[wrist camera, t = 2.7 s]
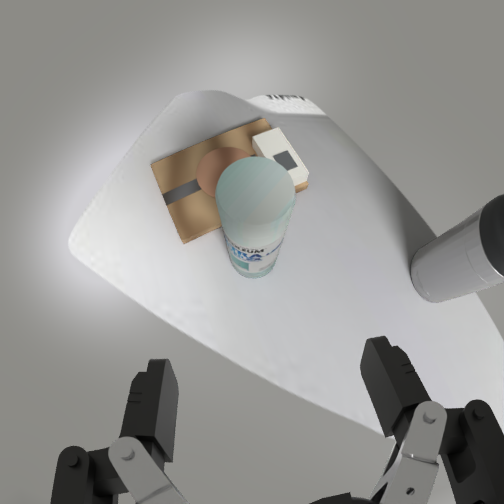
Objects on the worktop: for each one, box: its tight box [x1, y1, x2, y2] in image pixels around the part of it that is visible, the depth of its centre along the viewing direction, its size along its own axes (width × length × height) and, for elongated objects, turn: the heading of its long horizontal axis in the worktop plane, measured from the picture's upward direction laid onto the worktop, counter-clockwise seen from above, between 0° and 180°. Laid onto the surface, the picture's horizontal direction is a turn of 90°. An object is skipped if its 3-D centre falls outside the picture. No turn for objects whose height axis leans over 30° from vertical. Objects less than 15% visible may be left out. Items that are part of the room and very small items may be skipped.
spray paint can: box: [215, 157, 296, 278], centre depth 34 cm, size 6×6×20 cm
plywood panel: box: [151, 118, 308, 244], centre depth 46 cm, size 20×14×2 cm
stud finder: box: [252, 127, 309, 186], centre depth 45 cm, size 9×4×3 cm, turn 26°
